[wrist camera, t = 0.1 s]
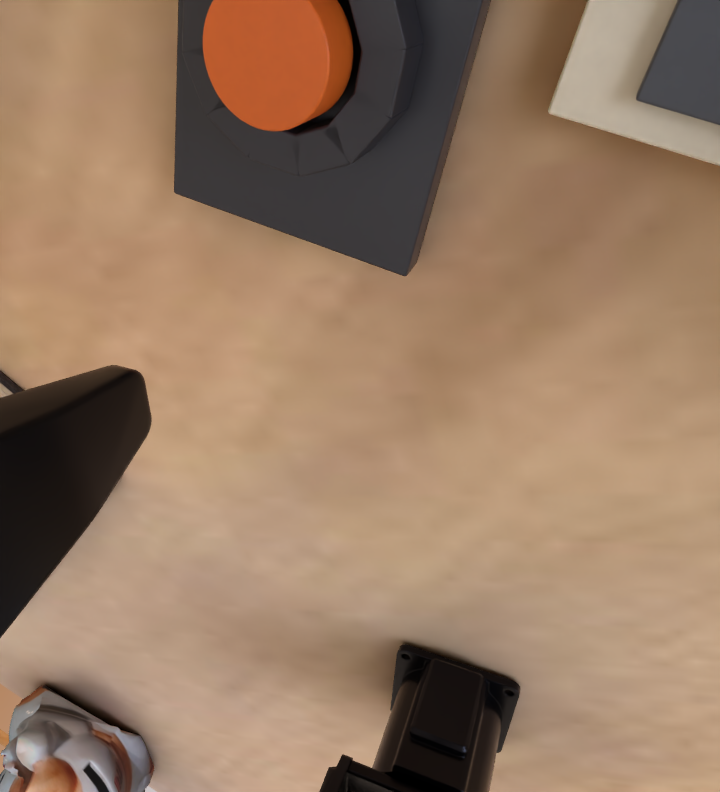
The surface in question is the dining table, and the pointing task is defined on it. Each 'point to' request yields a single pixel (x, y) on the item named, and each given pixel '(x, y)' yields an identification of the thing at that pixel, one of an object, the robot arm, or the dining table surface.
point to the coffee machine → (647, 74)
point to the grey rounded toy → (70, 750)
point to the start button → (277, 58)
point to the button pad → (338, 133)
